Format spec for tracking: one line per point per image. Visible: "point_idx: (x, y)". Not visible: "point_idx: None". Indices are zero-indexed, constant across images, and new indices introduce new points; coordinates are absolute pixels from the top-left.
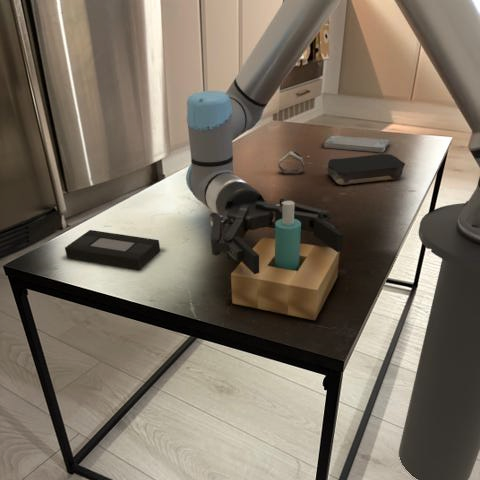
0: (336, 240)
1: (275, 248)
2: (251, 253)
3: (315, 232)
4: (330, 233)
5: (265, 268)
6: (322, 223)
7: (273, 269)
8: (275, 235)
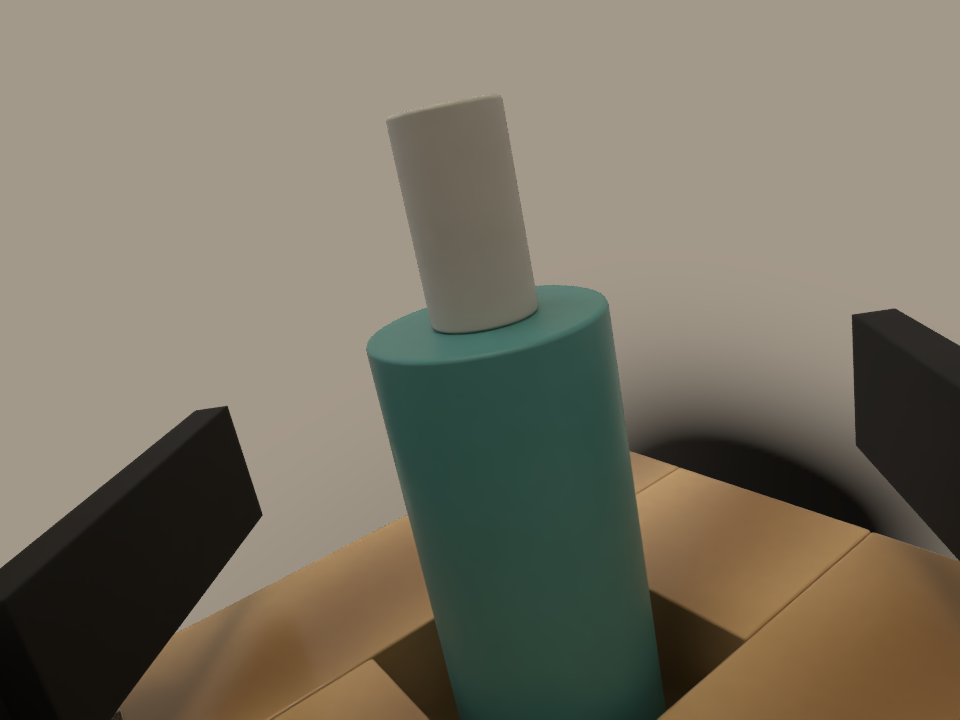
0: (231, 459)
1: (639, 530)
2: (914, 322)
3: (84, 696)
4: (189, 475)
5: (771, 612)
6: (94, 516)
7: (709, 588)
8: (622, 413)
